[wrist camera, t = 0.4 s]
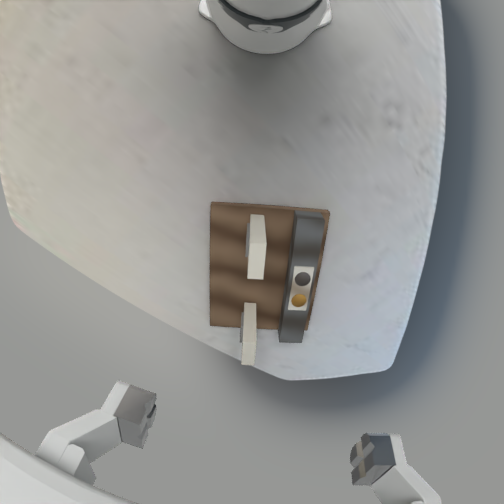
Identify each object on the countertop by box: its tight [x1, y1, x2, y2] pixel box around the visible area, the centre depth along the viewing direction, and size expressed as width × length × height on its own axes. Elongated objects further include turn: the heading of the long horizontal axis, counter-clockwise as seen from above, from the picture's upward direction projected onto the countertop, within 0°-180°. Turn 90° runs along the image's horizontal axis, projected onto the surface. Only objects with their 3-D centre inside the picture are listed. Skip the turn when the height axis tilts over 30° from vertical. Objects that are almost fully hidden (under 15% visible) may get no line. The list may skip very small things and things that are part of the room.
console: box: [210, 202, 330, 343], centre depth 51 cm, size 23×18×6 cm
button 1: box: [240, 303, 257, 365], centre depth 51 cm, size 5×2×10 cm, turn 176°
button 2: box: [245, 214, 267, 280], centre depth 44 cm, size 5×2×10 cm, turn 176°
